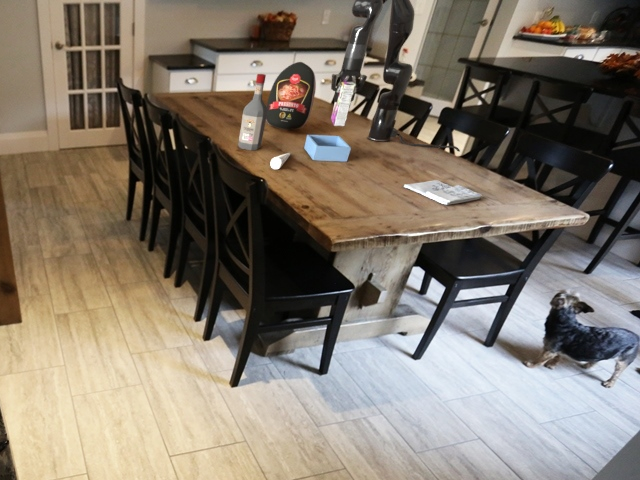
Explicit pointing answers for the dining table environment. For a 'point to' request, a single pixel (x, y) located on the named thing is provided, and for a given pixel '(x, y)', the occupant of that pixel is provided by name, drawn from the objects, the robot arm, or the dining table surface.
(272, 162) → the unicorn horn
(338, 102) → the candy bar box
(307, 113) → the packaged food
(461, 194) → the folded newspaper
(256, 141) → the liquor
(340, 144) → the crate
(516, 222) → the dining table surface
